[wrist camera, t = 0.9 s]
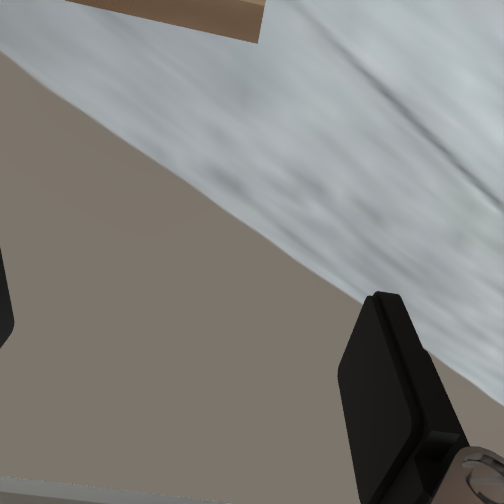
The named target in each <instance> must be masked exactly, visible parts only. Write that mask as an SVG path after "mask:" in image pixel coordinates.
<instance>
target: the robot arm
mask: <svg viewBox="0 0 504 504" xmlns="http://www.w3.org/2000/svg"><path fill="white" fill-rule="evenodd" d="M13 327H14V316H13V311H12V306H11V301H10V295H9V291H8V286H7V280H6V275H5V270H4V265H3V260H2V254H1V249H0V348H1V347H2V345H3V344H4V343H5V341H6V340H7V339H8V337H9V336H10V334H11V333H12V331H13ZM338 383H339V388H340V394H341V400H342V405H343V411H344V417H345V422H346V428H347V432H348V438H349V444H350V449H351V455H352V461H353V466H354V472H355V477H356V483H357V489H358V494H359V499H360V503H361V504H504V458H503V457H502V456H500V455H498V454H496V453H495V452H493V451H491V450H488V449H485V448H482V447H477V446H470V445H469V443H468V441H467V438H466V436H465V434H464V432H463V429H462V427H461V425H460V423H459V420H458V418H457V416H456V413H455V411H454V409H453V407H452V404H451V402H450V400H449V398H448V395H447V394H446V391H445V389H444V386H443V384H442V382H441V380H440V377H439V375H438V373H437V371H436V368H435V366H434V364H433V362H432V359H431V357H430V355H429V354H428V352H427V351H426V350H425V349H423V347H422V344H421V342H420V340H419V338H418V335H417V333H416V331H415V328H414V326H413V324H412V321H411V319H410V317H409V314H408V312H407V310H406V308H405V305H404V303H403V301H402V298H401V297H400V295H398V294H393V293H387V292H380V291H377V292H375V293H374V295H373V296H367V297H366V299H365V301H364V304H363V307H362V309H361V312H360V314H359V317H358V319H357V322H356V324H355V327H354V329H353V332H352V334H351V337H350V339H349V342H348V344H347V347H346V349H345V352H344V354H343V357H342V359H341V362H340V364H339V367H338ZM0 504H235V503H227V502H218V501H210V500H202V499H194V498H186V497H177V496H169V495H160V494H152V493H143V492H135V491H126V490H118V489H109V488H100V487H92V486H84V485H74V484H66V483H57V482H49V481H40V480H32V479H23V478H14V477H5V476H0Z"/></svg>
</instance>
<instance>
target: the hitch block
mask: <svg viewBox="0 0 504 504" xmlns="http://www.w3.org/2000/svg"><path fill="white" fill-rule="evenodd" d="M66 1H70V2H74V3H79V4H83V5H88V6H92V7H97V8H101V9H106V10H110V11H114V12H119V13H123V14H128V15H132V16H137V17H141V18H146V19H150V20H155V21H159V22H163V23H168V24H172V25H177V26H181V27H186V28H190V29H195V30H199V31H204V32H208V33H212V34H217V35H221V36H226V37H230V38H235V39H239V40H244V41H248V42H253V43H257V44H258V39H259V33H260V28H261V23H262V17H263V12H264V6H265V1H266V0H66Z"/></svg>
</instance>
